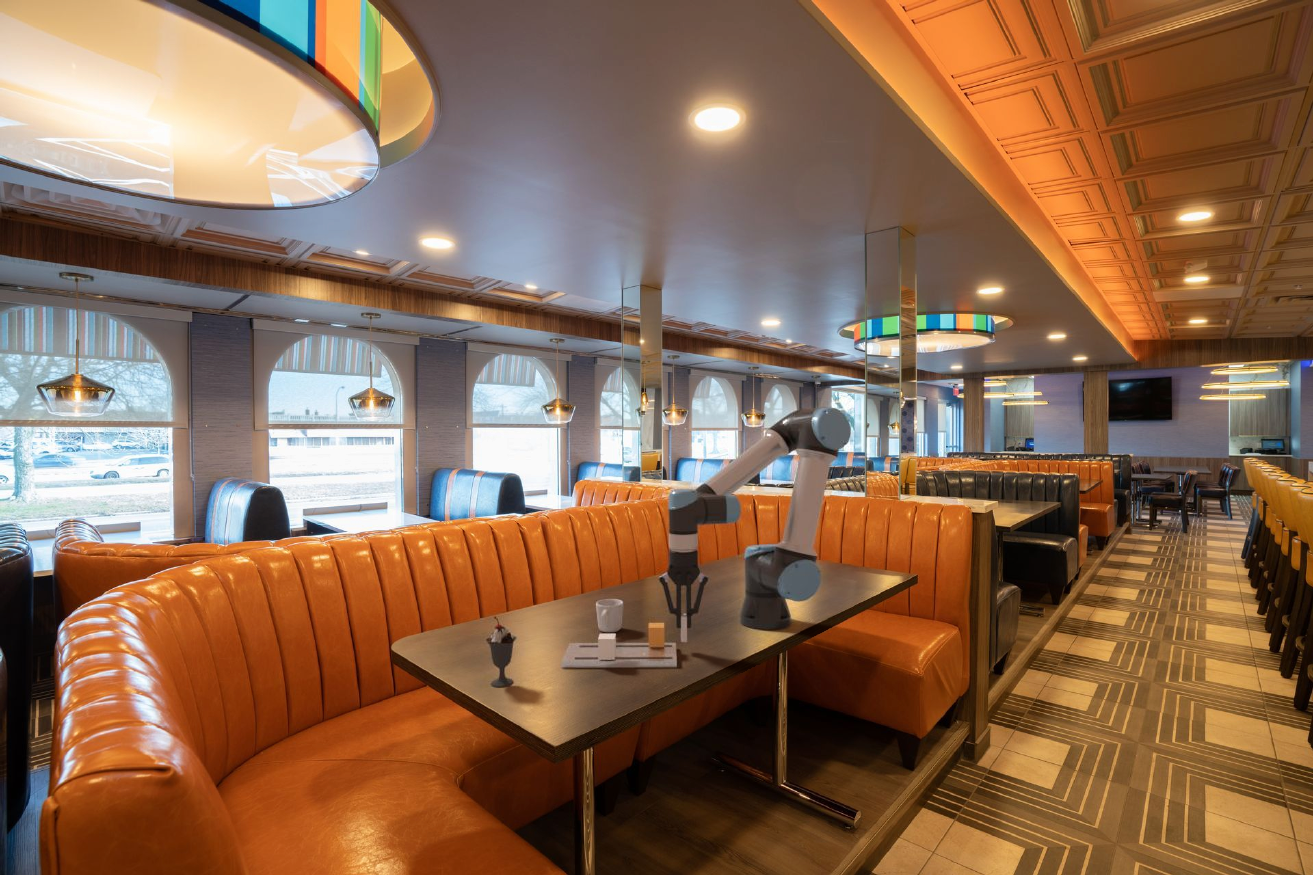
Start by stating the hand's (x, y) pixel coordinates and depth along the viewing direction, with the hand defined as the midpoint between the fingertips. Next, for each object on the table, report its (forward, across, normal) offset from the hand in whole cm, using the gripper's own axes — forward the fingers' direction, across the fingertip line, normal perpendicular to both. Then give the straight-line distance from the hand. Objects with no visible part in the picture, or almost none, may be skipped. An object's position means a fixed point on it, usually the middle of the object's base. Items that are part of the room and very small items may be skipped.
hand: (683, 640), depth 158 cm
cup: (+3, +21, -17) cm, 27 cm away
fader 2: (+1, +7, 0) cm, 7 cm away
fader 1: (+1, +19, +8) cm, 21 cm away
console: (+3, +16, +4) cm, 17 cm away
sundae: (+3, +42, +19) cm, 46 cm away
